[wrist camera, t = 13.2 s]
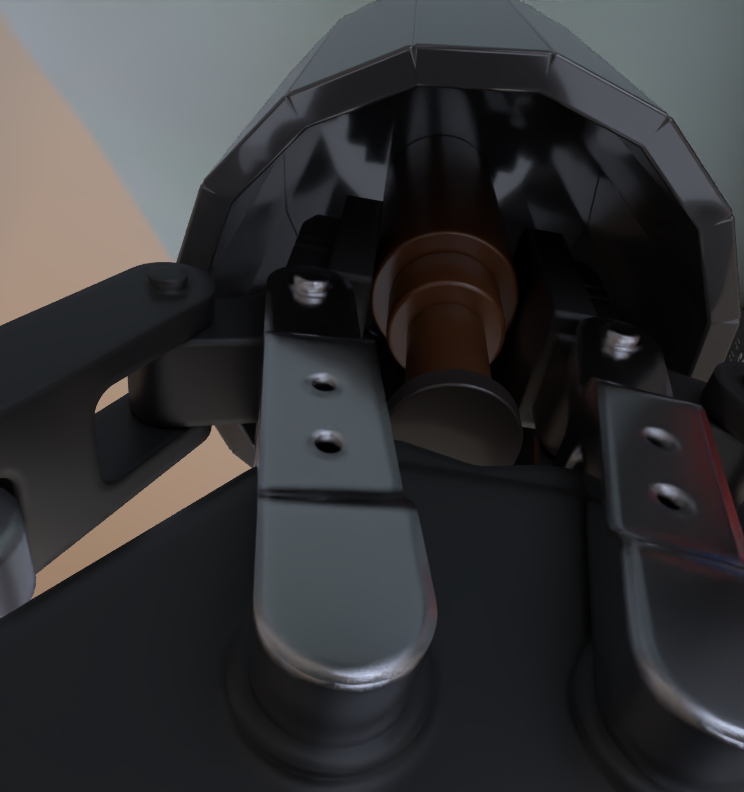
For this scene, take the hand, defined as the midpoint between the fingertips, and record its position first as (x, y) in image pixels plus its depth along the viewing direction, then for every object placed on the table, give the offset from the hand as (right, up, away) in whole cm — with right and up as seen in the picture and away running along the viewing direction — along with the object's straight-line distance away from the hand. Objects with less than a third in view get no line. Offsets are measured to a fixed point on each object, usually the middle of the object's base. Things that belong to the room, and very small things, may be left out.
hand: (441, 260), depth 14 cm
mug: (0, +2, +5) cm, 5 cm away
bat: (0, +3, +4) cm, 4 cm away
